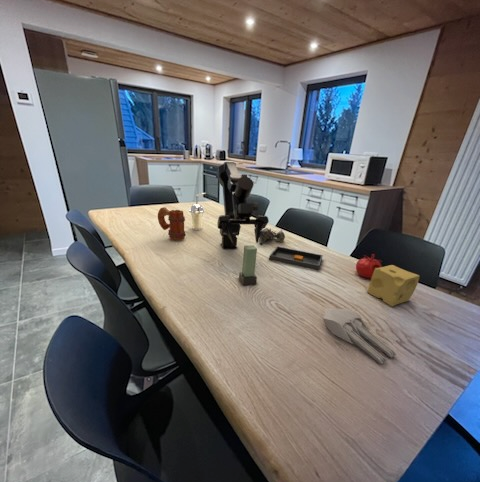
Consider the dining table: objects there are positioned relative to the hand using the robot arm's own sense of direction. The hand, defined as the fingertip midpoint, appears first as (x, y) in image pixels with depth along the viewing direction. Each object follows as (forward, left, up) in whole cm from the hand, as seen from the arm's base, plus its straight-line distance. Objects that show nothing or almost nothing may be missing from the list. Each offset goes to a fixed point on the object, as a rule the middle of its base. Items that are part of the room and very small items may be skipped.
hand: (245, 242), depth 97 cm
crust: (+29, +7, -12) cm, 32 cm away
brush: (-1, -7, -13) cm, 14 cm away
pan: (+28, +8, -13) cm, 31 cm away
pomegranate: (+50, -11, -13) cm, 53 cm away
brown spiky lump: (+26, +33, -13) cm, 44 cm away
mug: (-23, +44, -13) cm, 51 cm away
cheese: (+45, -27, -13) cm, 54 cm away
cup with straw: (-8, +59, -13) cm, 61 cm away
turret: (+17, -43, -13) cm, 48 cm away
